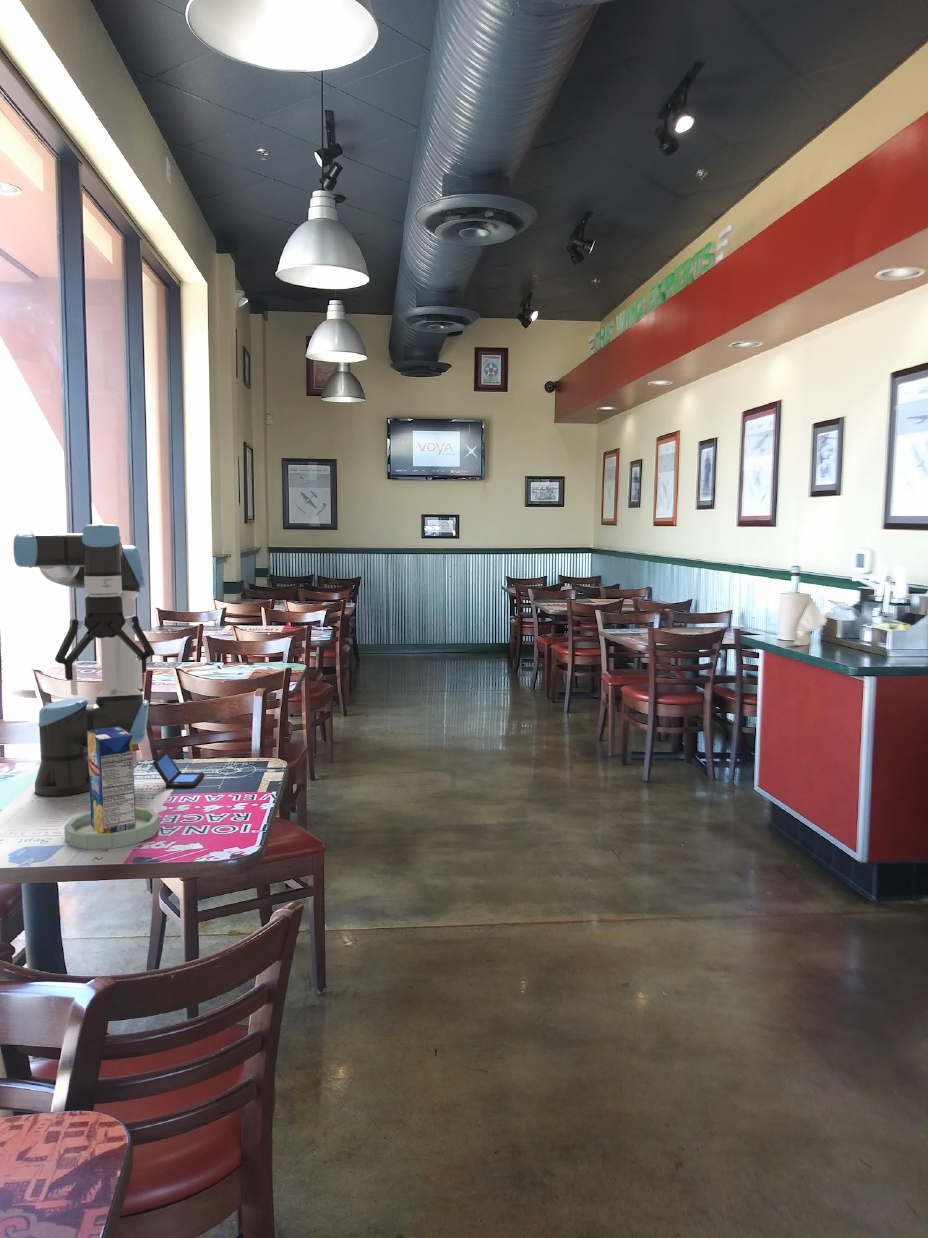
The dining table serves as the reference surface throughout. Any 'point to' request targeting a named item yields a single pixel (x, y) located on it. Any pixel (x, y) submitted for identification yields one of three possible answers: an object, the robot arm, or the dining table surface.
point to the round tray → (88, 838)
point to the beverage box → (111, 780)
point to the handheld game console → (175, 773)
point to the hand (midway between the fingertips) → (107, 691)
